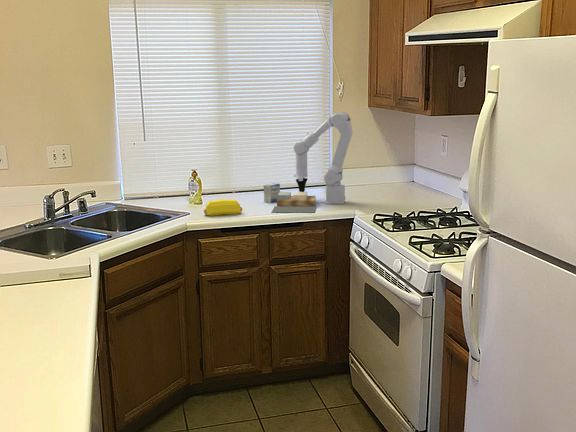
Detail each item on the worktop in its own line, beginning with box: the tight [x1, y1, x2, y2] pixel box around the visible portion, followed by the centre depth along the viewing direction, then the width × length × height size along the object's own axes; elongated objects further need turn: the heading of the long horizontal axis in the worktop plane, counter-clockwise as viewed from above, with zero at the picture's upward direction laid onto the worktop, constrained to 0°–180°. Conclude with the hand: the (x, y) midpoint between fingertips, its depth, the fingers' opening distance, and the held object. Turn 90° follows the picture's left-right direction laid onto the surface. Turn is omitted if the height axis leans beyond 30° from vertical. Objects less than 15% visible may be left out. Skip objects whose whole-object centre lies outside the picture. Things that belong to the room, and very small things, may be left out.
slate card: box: [278, 191, 292, 200], centre depth 318 cm, size 6×9×2 cm, turn 175°
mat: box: [271, 205, 317, 214], centre depth 304 cm, size 20×14×1 cm
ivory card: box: [293, 191, 308, 200], centre depth 317 cm, size 6×9×2 cm, turn 175°
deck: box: [276, 195, 317, 206], centre depth 317 cm, size 18×12×3 cm, turn 85°
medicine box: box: [263, 182, 281, 204], centre depth 326 cm, size 8×4×9 cm, turn 143°
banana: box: [203, 199, 243, 217], centre depth 298 cm, size 18×7×8 cm
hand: (301, 193), depth 326 cm, fingers closed
